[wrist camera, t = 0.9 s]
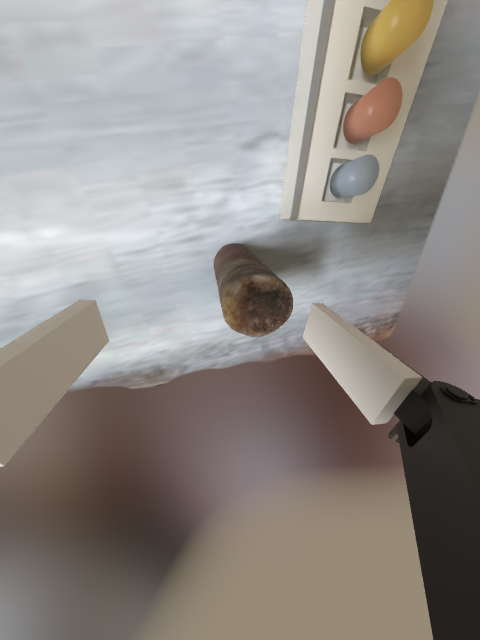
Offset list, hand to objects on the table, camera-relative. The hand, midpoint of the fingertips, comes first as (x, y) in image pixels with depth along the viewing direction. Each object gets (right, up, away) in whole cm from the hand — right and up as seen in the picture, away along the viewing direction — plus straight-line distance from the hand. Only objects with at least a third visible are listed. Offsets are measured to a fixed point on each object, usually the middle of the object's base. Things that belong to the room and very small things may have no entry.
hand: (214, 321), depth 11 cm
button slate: (+16, +20, +14) cm, 30 cm away
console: (+16, +28, +16) cm, 36 cm away
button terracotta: (+17, +25, +11) cm, 32 cm away
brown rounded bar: (0, +11, +23) cm, 26 cm away
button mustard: (+17, +31, +8) cm, 36 cm away
